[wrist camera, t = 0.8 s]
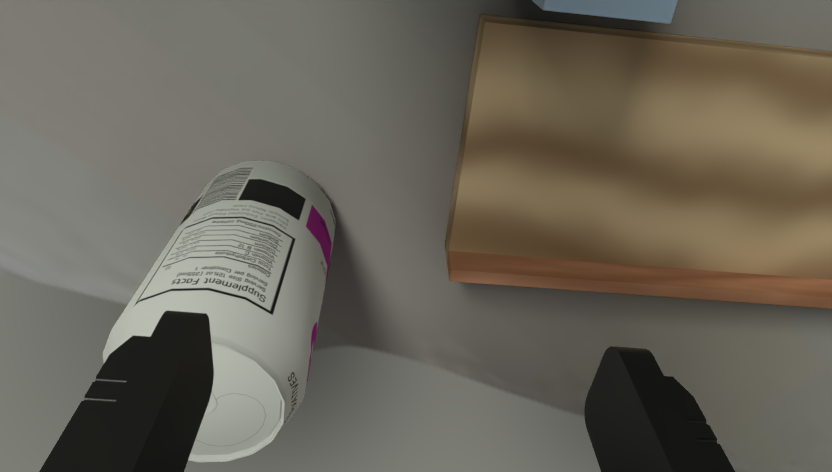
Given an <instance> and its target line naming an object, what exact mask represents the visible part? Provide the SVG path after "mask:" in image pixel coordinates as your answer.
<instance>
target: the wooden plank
mask: <svg viewBox="0 0 832 472" xmlns="http://www.w3.org/2000/svg"><path fill="white" fill-rule="evenodd" d="M445 250H446V258H447V266H448V274H449V281H453V282H467V283H481V284H495V285H509V286H523V287H537V288H551V289H565V290H579V291H593V292H607V293H621V294H635V295H649V296H663V297H677V298H691V299H705V300H719V301H733V302H747V303H761V304H775V305H788V306H802V307H816V308H830V309H832V51H823V50H814V49H804V48H795V47H786V46H776V45H767V44H757V43H748V42H738V41H729V40H719V39H710V38H701V37H691V36H682V35H672V34H663V33H653V32H644V31H634V30H625V29H616V28H606V27H597V26H587V25H578V24H568V23H559V22H549V21H540V20H531V19H521V18H512V17H502V16H493V15H483V14H480V18H479V24H478V31H477V38H476V44H475V51H474V57H473V64H472V70H471V77H470V83H469V90H468V96H467V103H466V109H465V116H464V123H463V129H462V136H461V142H460V149H459V155H458V162H457V168H456V175H455V181H454V188H453V194H452V201H451V208H450V214H449V221H448V227H447V234H446V240H445Z"/></svg>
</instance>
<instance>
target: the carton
mask: <svg viewBox="0 0 832 472" xmlns="http://www.w3.org/2000/svg"><path fill="white" fill-rule="evenodd" d="M532 1H533V2H534V3H535V4H537V5H538V6H539V7H540V8H541V9H542V10H546V11H556V12H565V13H574V14H584V15H593V16H602V17H612V18H621V19H630V20H640V21H649V22H658V23H668V24H671V20H672V17H673V14H674V11H675V8H676V5H677V2H678V0H532Z"/></svg>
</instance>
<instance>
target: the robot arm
mask: <svg viewBox="0 0 832 472" xmlns="http://www.w3.org/2000/svg"><path fill="white" fill-rule="evenodd" d="M213 378H214V367H213V356H212V344H211V333H210V322H209V317H208V315H207V314H206V313H193V312H181V311H165V312H164V313H163V315H162V316H161V318H160V320H159V322H158V324H157V325H156V327H155V329H154V331H153V333H152V335H151V337H147V336H134V335H133V336H132V337H130V338H129V339H128V340H127V341H126V342H124V343H123V344H122V345H121V346H119V347H118V348H117V349H116V350H114V351H113V352H112V353H111V354H110V355H109V356H108V358H107V360H106V361H105V363H104V365H103V366H102V368H101V370H100V371H99V373H98V375H97V377H96V381H95V382H93V383H92V385H91V386H90V388H89V390H88V392H87V393H86V395H85V399H84V401H82V402H81V403H80V405H79V406H78V408H77V410H76V411H75V413H74V415H73V416H72V418H71V420H70V421H69V423H68V425H67V426H66V428H65V430H64V431H63V433H62V435H61V436H60V438H59V440H58V441H57V443H56V445H55V447H54V448H53V450H52V451H51V453H50V455H49V457H48V458H47V460H46V461H45V463H44V465H43V467H42V468H41V470H40V472H184V469H185V467H186V464H187V461H188V459H189V456H190V453H191V450H192V447H193V445H194V442H195V439H196V436H197V434H198V431H199V428H200V425H201V422H202V420H203V417H204V414H205V411H206V409H207V406H208V403H209V400H210V396H211V392H212V386H213ZM585 422H586V427H587V430H588V433H589V436H590V439H591V442H592V445H593V448H594V451H595V454H596V457H597V460H598V463H599V466H600V469H601V472H735V471H734V469H733V467H732V465H731V464H730V462H729V460H728V458H727V456H726V455H725V453H724V451H723V449H722V447H721V446H720V444H717V438H716V437H715V435H714V433H713V431H712V429H711V428H710V426H709V425H707V424H706V419H705V417H704V415H703V413H702V411H701V410H700V408H699V406H698V404H697V402H696V401H695V399H694V397H693V396H692V395H691V394H690V393H689V392H688V391H687V390H686V389H685V388H684V387H683V386H682V385H681V384H680V383H679V382H678V381H677V380H676V379H675V378H674V377H668V376H664V375H663V373H662V372H661V370H660V368H659V366H658V364H657V362H656V360H655V358H654V356H653V355H652V353H651V352H650V351H649V350H647V349H638V348H625V347H609V348H608V349H607V350H606V351H605V353H604V356H603V358H602V360H601V363H600V365H599V368H598V370H597V373H596V375H595V378H594V380H593V382H592V385H591V387H590V390H589V392H588V395H587V398H586V402H585Z"/></svg>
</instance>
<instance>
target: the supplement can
mask: <svg viewBox="0 0 832 472" xmlns="http://www.w3.org/2000/svg"><path fill="white" fill-rule="evenodd" d="M335 225H336V220H335V217H334V214H333V210H332V207H331V204H330V201H329V199H328V198H327V197H326V196H325V194H324V193H323V192H322V190H321V189H320V188H319V186H318V185H317V184H316V183H315V182H314V181H313V180H311V179H310V178H308V177H307V176H305V175H304V174H302V173H301V172H299V171H298V170H296V169H295V168H292V167H289V166H285V165H282V164H279V163H275V162H272V161H244V162H241V163H239V164H236V165H234V166H231V167H228V168H226V169H223V170H221V171H220V172H219V173H218V174H217V175H216V176H215V177H214V178H213V179H212V180H211V181H210V182H209V183H207V184H206V186H205V187H204V189H203V190H202V192H201V193H200V195H199V197H198V198H197V200H196V201H195V203H194V204H193V206H192V207H191V209H190V210H189V212H188V213H187V215H186V216H185V218H184V219H183V221H182V223H181V224H180V226H179V227H178V229H177V230H176V232H175V233H174V235H173V236H172V238H171V239H170V241H169V242H168V244H167V246H166V247H165V249H164V250H163V252H162V253H161V255H160V256H159V258H158V259H157V261H156V262H155V264H154V265H153V267H152V269H151V270H150V272H149V273H148V275H147V276H146V278H145V279H144V281H143V282H142V284H141V285H140V287H139V288H138V290H137V291H136V293H135V295H134V296H133V298H132V299H131V301H130V302H129V304H128V305H127V307H126V308H125V310H124V311H123V313H122V314H121V316H120V318H119V319H118V321H117V322H116V324H115V325H114V327H113V328H112V330H111V333H110V335H109V338H108V341H107V343H106V346H105V349H104V351H103V360H104V363H105V361H106V360H107V358H108V356H109V355H110V354H111V353H112V352H113V351H114V350H116V349H117V348H118V347H119V346H121V345H122V344H123V343H124V342H126V341H127V340H128V339H129V338H130V337H132V336H133V335H134V336H147V337H151V335H152V333H153V331H154V329H155V327H156V325H157V324H158V322H159V320H160V318H161V316H162V315H163V313H164V312H165V311H181V312H193V313H206V314H207V315H208V317H209V322H210V333H211V344H212V356H213V367H214V378H213V386H212V392H211V396H210V400H209V403H208V406H207V409H206V411H205V414H204V417H203V420H202V422H201V425H200V428H199V431H198V434H197V436H196V439H195V442H194V445H193V447H192V450H191V453H190V456H189V459H188V460H190V461H195V462H221V461H223V462H225V461H231V460H234V459H237V458H241V457H245V456H248V455H252V454H254V453H255V452H257V451H258V450H260V449H261V448H262V447H264V446H266V445H267V444H269V443H270V442H272V441H273V439H274V437H275V436H276V434H277V433H278V431H279V430H280V429H281V428H282V427H283V426H284V425H285V424H286V423H287V422H288V421H289V420H290V419H291V418H292V416H293V415H294V412H295V411H296V410H297V408H298V407H299V405H300V404H301V402H302V401H303V399H304V396H305V390H306V385H307V380H308V375H309V369H310V364H311V359H312V354H313V348H314V343H315V338H316V333H317V327H318V322H319V317H320V311H321V306H322V301H323V296H324V290H325V285H326V280H327V275H328V269H329V264H330V259H331V254H332V248H333V243H334V235H335Z"/></svg>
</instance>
